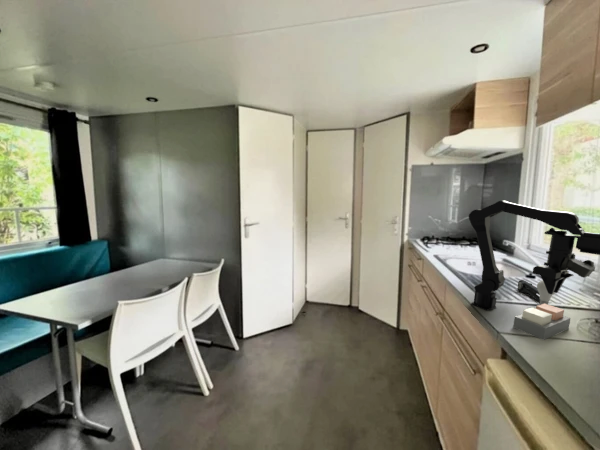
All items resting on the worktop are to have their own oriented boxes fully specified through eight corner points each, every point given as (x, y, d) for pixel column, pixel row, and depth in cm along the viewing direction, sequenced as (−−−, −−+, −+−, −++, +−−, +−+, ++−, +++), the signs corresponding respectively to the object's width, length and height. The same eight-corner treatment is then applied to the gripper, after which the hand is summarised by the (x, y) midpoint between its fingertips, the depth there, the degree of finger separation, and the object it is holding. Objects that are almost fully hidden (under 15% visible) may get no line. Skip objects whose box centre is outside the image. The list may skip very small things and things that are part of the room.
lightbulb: (550, 310, 111) (555, 284, 109) (531, 304, 116) (535, 279, 114) (555, 307, 114) (560, 281, 112) (536, 301, 119) (541, 277, 117)
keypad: (513, 327, 96) (514, 316, 96) (538, 317, 104) (540, 307, 104) (543, 340, 89) (545, 328, 88) (568, 329, 97) (570, 318, 96)
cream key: (521, 322, 95) (523, 310, 95) (530, 319, 98) (532, 307, 97) (541, 330, 90) (543, 317, 90) (549, 326, 93) (552, 314, 92)
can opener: (512, 288, 134) (514, 277, 134) (528, 290, 133) (530, 279, 132) (536, 304, 117) (538, 291, 116) (555, 306, 116) (557, 293, 115)
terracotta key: (534, 317, 99) (536, 306, 99) (542, 314, 102) (544, 303, 101) (554, 325, 94) (556, 312, 94) (562, 321, 97) (564, 309, 96)
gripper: (580, 257, 83) (570, 307, 85) (605, 252, 91) (596, 297, 94) (535, 249, 93) (528, 293, 95) (562, 245, 101) (554, 286, 103)
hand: (552, 293), depth 97 cm, fingers open, 3 cm apart
